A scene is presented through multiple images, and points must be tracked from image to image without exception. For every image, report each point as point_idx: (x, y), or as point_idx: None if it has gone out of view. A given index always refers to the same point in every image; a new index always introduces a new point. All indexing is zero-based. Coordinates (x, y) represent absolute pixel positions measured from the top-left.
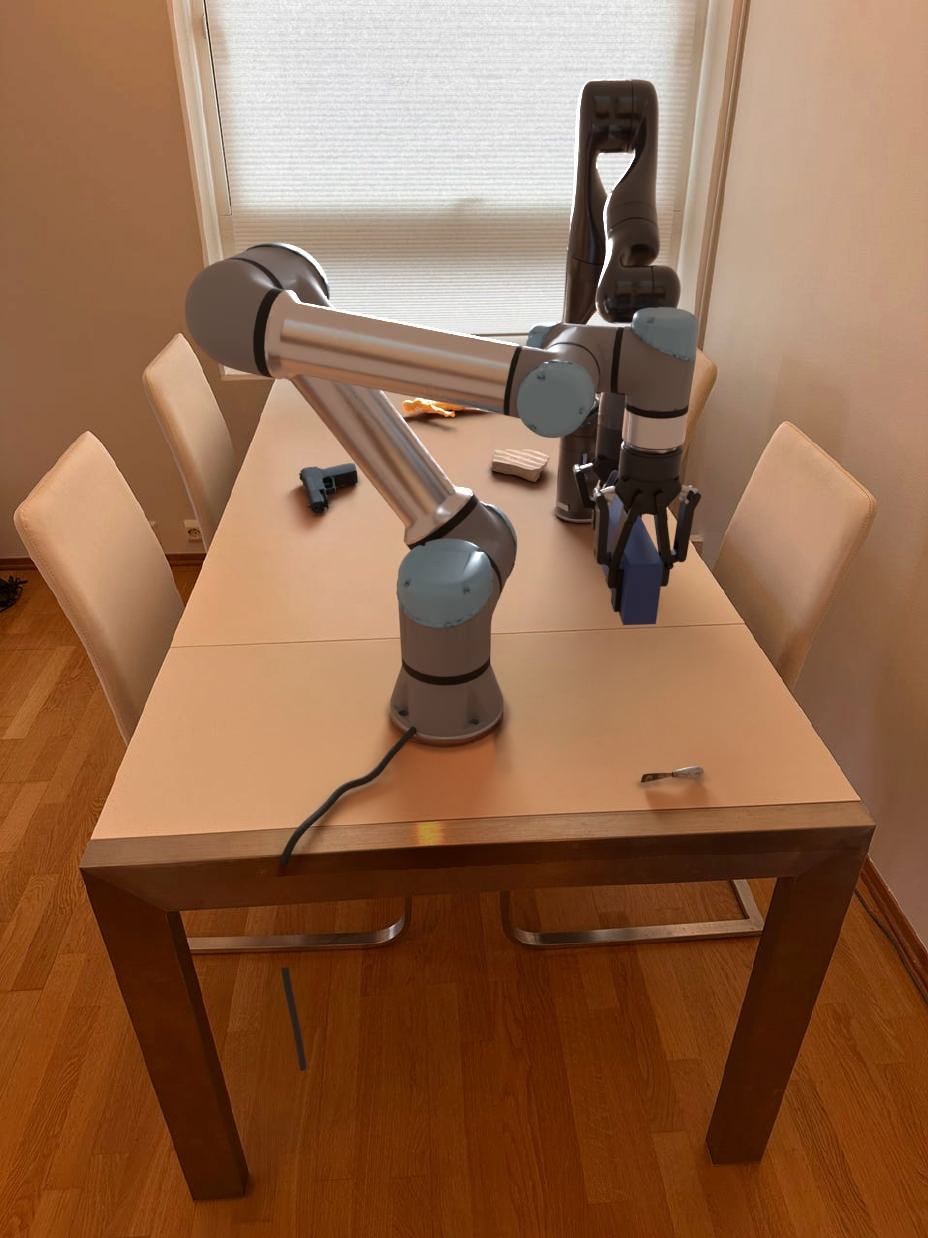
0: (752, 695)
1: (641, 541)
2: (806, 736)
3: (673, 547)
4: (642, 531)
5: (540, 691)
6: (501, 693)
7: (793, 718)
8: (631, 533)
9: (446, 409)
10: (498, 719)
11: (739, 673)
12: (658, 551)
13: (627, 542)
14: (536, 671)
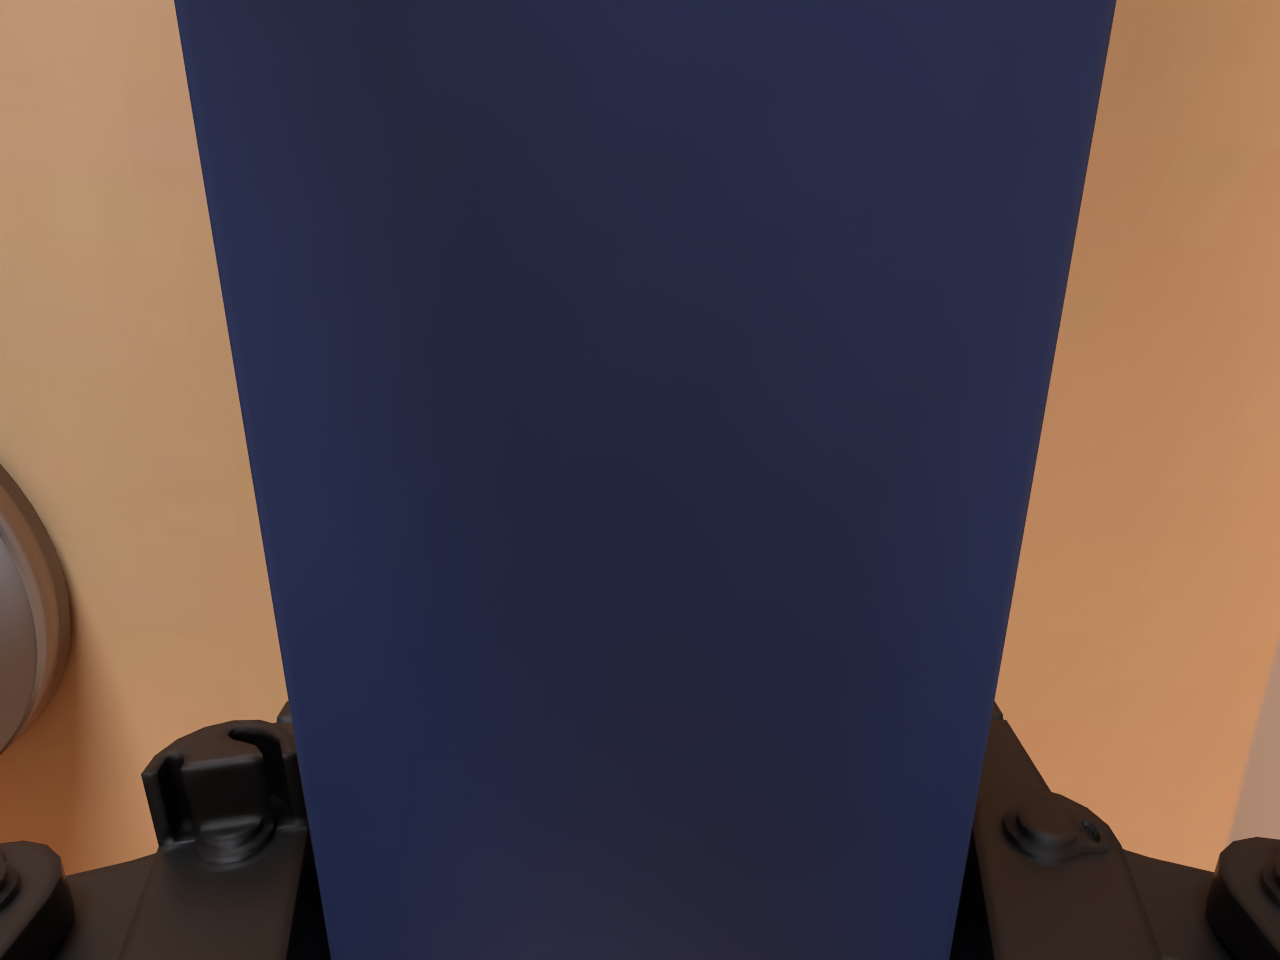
0: (1177, 534)
1: (740, 865)
2: (1239, 772)
3: (1264, 957)
4: (910, 431)
5: (225, 455)
6: (3, 612)
7: (1256, 680)
8: (614, 517)
9: None
10: (41, 694)
11: (1211, 370)
12: (980, 900)
13: (454, 881)
14: (197, 294)
